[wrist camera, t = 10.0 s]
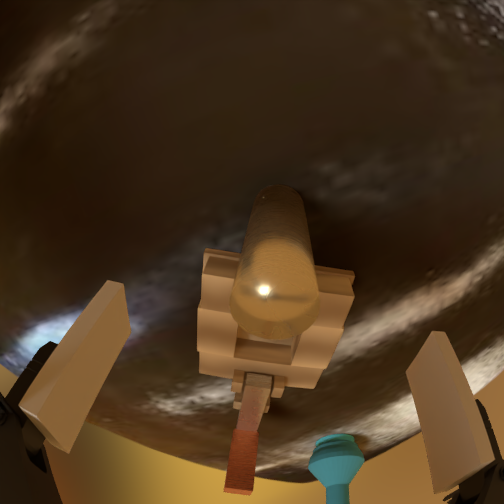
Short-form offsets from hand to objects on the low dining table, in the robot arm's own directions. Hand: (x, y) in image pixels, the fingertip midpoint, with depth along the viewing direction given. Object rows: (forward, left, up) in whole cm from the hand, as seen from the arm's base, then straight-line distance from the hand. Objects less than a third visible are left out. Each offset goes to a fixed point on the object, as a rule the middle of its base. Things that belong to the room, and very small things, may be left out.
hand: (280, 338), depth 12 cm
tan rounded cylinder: (0, 0, -14) cm, 14 cm away
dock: (+14, +1, -14) cm, 19 cm away
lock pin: (+21, +1, -10) cm, 24 cm away
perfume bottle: (+38, +17, -14) cm, 44 cm away
